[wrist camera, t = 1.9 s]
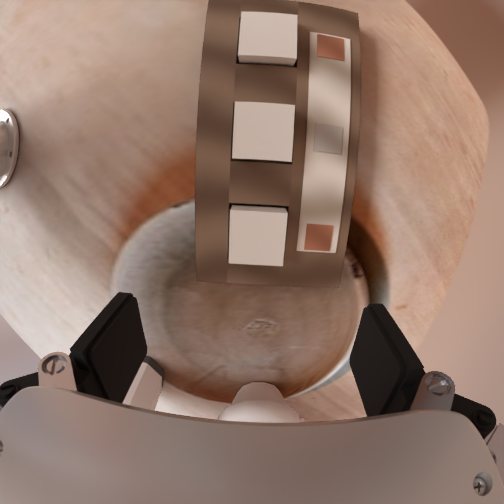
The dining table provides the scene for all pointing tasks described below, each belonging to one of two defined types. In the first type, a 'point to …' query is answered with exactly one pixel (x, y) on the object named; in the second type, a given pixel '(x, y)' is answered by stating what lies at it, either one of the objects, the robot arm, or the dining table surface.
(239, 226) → the button
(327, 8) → the button board
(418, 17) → the dining table surface
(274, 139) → the button
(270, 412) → the potted plant
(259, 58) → the button
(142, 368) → the wine bottle
